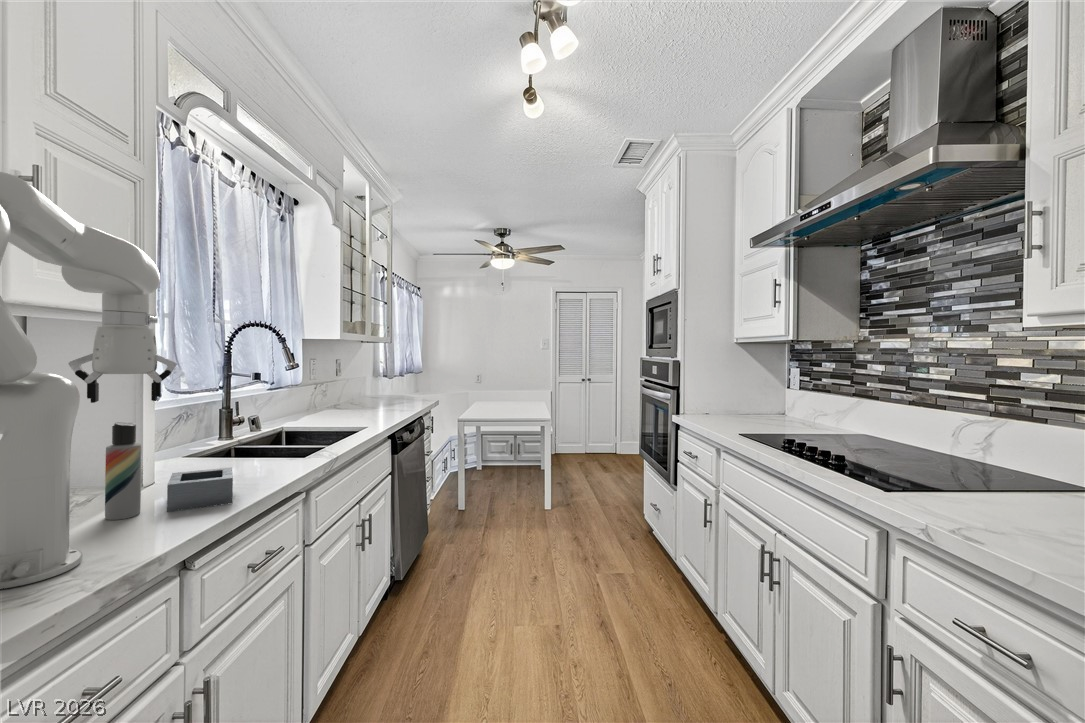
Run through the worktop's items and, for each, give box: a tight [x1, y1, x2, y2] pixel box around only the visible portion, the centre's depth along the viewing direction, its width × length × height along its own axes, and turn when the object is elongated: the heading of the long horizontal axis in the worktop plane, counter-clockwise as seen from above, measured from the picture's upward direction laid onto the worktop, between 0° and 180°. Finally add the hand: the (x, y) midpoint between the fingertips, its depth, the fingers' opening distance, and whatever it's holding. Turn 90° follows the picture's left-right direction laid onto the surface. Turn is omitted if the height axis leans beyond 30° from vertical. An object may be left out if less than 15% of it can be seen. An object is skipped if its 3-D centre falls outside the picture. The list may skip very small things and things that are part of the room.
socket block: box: [166, 467, 234, 513], centre depth 112 cm, size 12×12×6 cm
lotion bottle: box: [104, 421, 142, 521], centre depth 100 cm, size 6×6×20 cm
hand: (125, 401), depth 100 cm, fingers open, 9 cm apart
